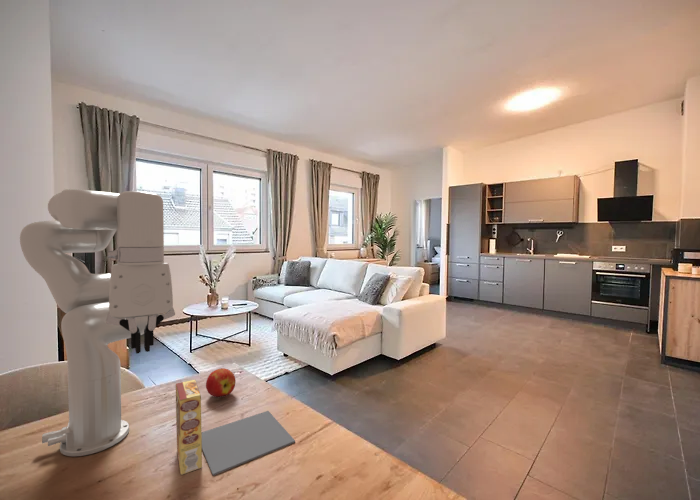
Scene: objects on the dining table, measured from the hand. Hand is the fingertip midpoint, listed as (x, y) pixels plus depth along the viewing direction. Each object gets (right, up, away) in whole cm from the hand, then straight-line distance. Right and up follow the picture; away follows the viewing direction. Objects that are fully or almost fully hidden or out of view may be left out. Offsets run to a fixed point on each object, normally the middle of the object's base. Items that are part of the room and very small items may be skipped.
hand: (142, 350), depth 62 cm
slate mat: (+16, -25, +13) cm, 32 cm away
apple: (+2, -24, +33) cm, 41 cm away
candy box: (+6, -25, +6) cm, 27 cm away
